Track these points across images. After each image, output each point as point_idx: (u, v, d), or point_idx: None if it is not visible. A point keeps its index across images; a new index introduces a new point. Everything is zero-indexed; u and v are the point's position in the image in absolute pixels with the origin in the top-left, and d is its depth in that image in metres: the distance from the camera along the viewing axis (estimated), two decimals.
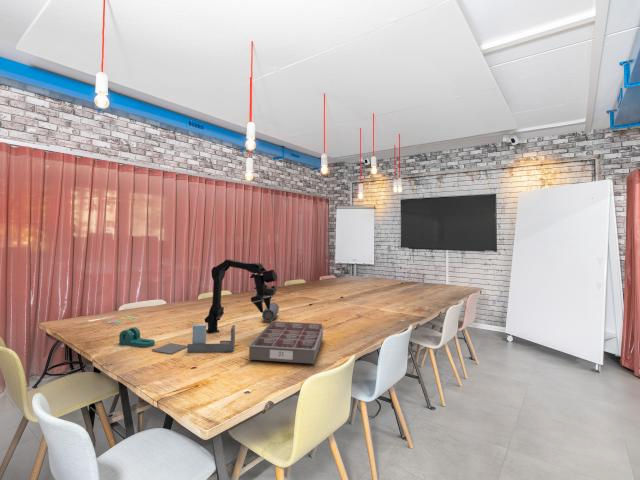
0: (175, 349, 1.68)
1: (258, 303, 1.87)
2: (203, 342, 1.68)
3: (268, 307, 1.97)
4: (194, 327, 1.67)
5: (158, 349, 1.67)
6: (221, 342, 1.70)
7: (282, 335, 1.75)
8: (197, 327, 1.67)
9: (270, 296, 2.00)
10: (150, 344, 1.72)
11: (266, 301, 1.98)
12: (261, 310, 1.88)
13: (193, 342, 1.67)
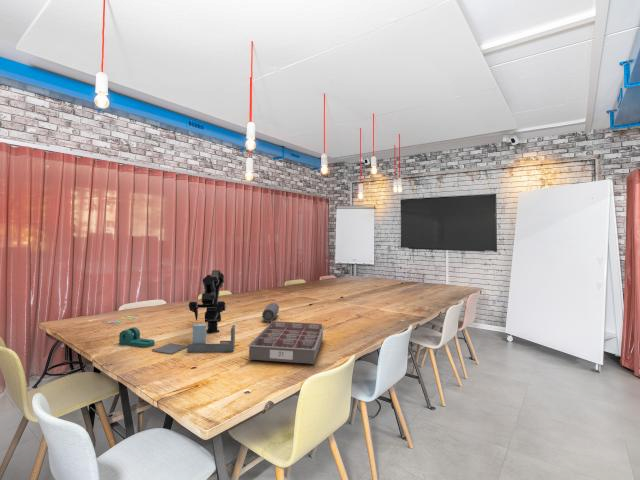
0: (175, 349, 1.68)
1: None
2: (203, 342, 1.68)
3: (214, 318, 1.78)
4: (194, 327, 1.67)
5: (158, 349, 1.67)
6: (221, 342, 1.70)
7: (282, 335, 1.75)
8: (197, 327, 1.67)
9: None
10: (150, 344, 1.72)
11: None
12: (195, 317, 1.77)
13: (193, 342, 1.67)
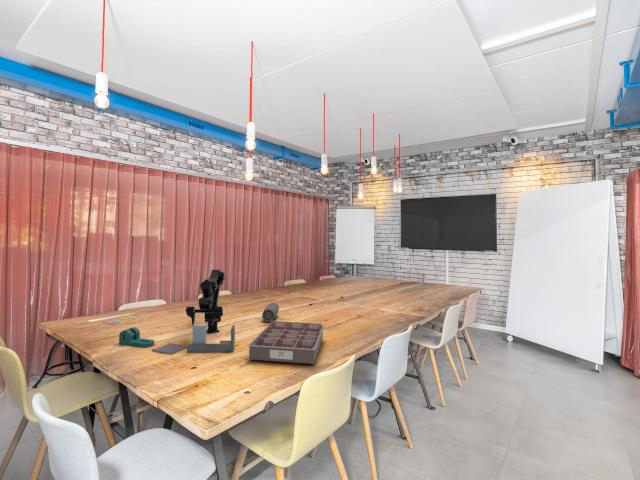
0: (175, 349, 1.68)
1: None
2: (203, 342, 1.68)
3: None
4: (194, 327, 1.67)
5: (158, 349, 1.67)
6: (221, 342, 1.70)
7: (282, 335, 1.75)
8: (197, 327, 1.67)
9: None
10: (150, 344, 1.72)
11: None
12: (192, 322, 1.74)
13: (193, 342, 1.67)
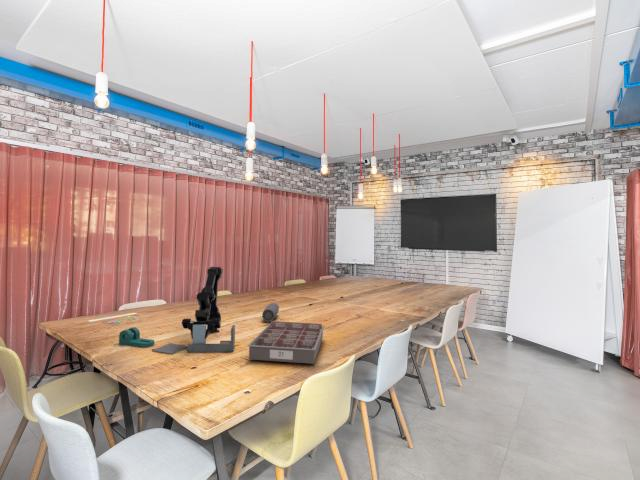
0: (175, 349, 1.68)
1: None
2: (203, 342, 1.68)
3: None
4: (194, 327, 1.67)
5: (158, 349, 1.67)
6: (221, 342, 1.70)
7: (282, 335, 1.75)
8: (197, 327, 1.67)
9: None
10: (150, 344, 1.72)
11: None
12: (191, 336, 1.68)
13: (193, 342, 1.67)
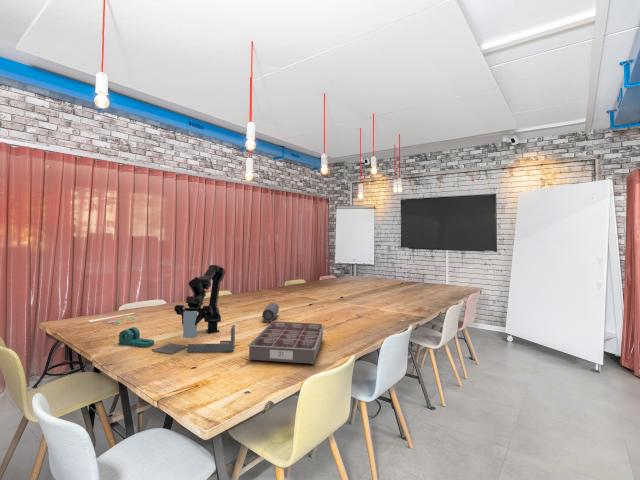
0: (175, 349, 1.68)
1: None
2: (193, 329, 1.67)
3: None
4: (185, 313, 1.67)
5: (158, 349, 1.67)
6: (221, 342, 1.70)
7: (282, 335, 1.75)
8: (187, 313, 1.67)
9: None
10: (150, 344, 1.72)
11: None
12: None
13: (184, 328, 1.67)
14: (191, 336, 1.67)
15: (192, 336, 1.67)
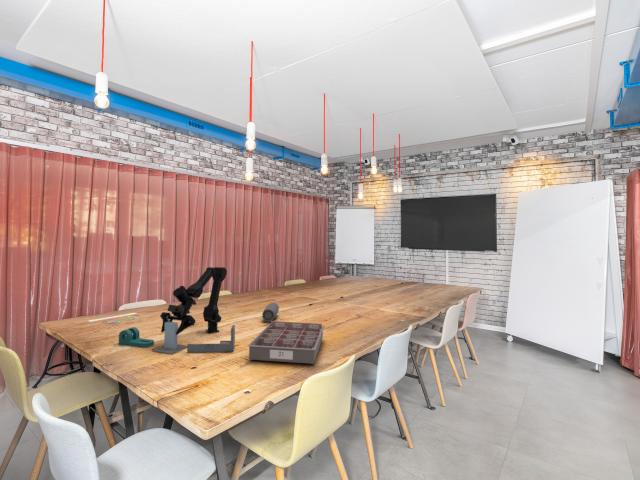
0: (175, 349, 1.68)
1: None
2: (172, 340, 1.68)
3: None
4: (165, 324, 1.69)
5: (158, 349, 1.67)
6: (221, 342, 1.70)
7: (282, 335, 1.75)
8: (168, 324, 1.69)
9: None
10: (149, 344, 1.72)
11: None
12: None
13: (165, 339, 1.69)
14: (171, 347, 1.68)
15: (171, 347, 1.68)
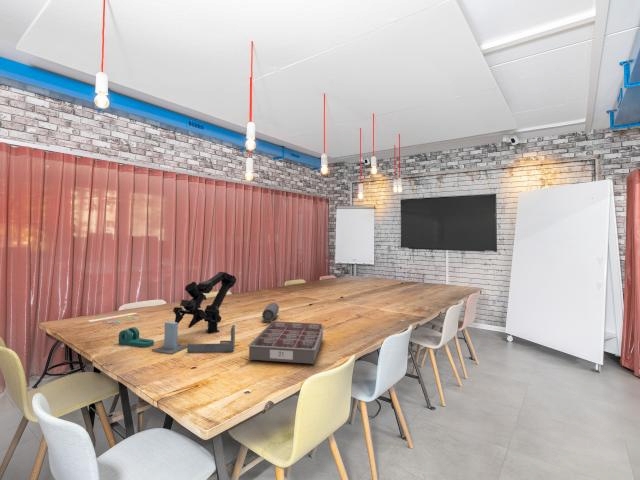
0: (175, 349, 1.68)
1: None
2: (172, 340, 1.68)
3: None
4: (165, 324, 1.69)
5: (158, 349, 1.67)
6: (221, 342, 1.70)
7: (282, 335, 1.75)
8: (168, 324, 1.69)
9: None
10: (149, 344, 1.72)
11: None
12: None
13: (165, 339, 1.69)
14: (171, 347, 1.68)
15: (171, 347, 1.68)
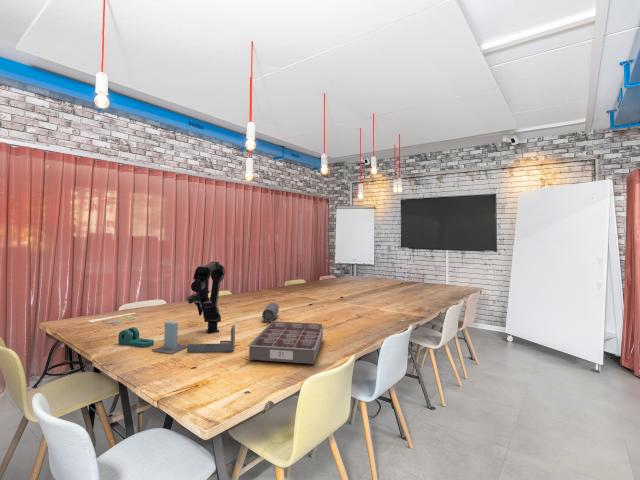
0: (175, 349, 1.68)
1: None
2: (172, 340, 1.68)
3: None
4: (165, 324, 1.69)
5: (158, 349, 1.67)
6: (221, 342, 1.70)
7: (282, 335, 1.75)
8: (168, 324, 1.69)
9: None
10: (149, 344, 1.72)
11: None
12: None
13: (165, 339, 1.69)
14: (171, 347, 1.68)
15: (171, 347, 1.68)
